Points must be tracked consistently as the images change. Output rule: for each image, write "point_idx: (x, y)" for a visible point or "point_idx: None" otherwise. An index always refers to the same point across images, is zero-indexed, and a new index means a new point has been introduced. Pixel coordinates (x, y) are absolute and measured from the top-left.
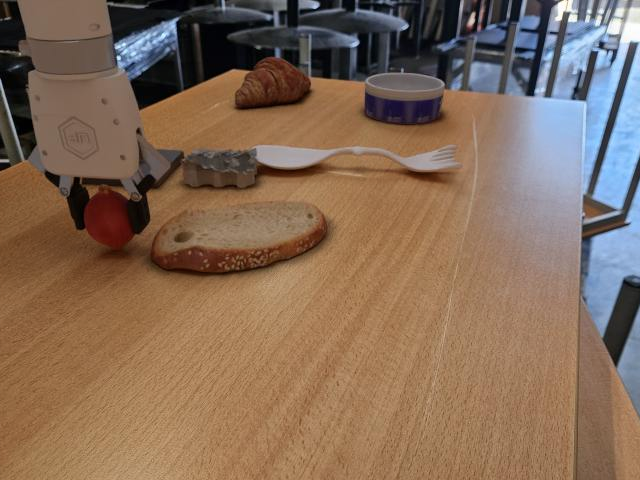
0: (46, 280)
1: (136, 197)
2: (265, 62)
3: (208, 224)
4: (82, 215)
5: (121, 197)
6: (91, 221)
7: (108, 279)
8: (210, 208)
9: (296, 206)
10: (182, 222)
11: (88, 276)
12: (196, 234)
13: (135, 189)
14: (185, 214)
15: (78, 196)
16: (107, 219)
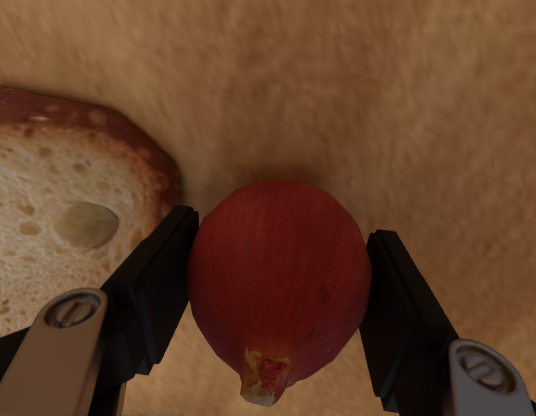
0: (456, 19)
1: (80, 306)
2: None
3: (48, 277)
4: (377, 274)
5: (208, 337)
6: (321, 218)
7: (253, 44)
8: None
9: None
10: (103, 280)
11: (321, 59)
12: (53, 233)
13: (32, 341)
14: None
15: (401, 345)
16: (250, 221)
